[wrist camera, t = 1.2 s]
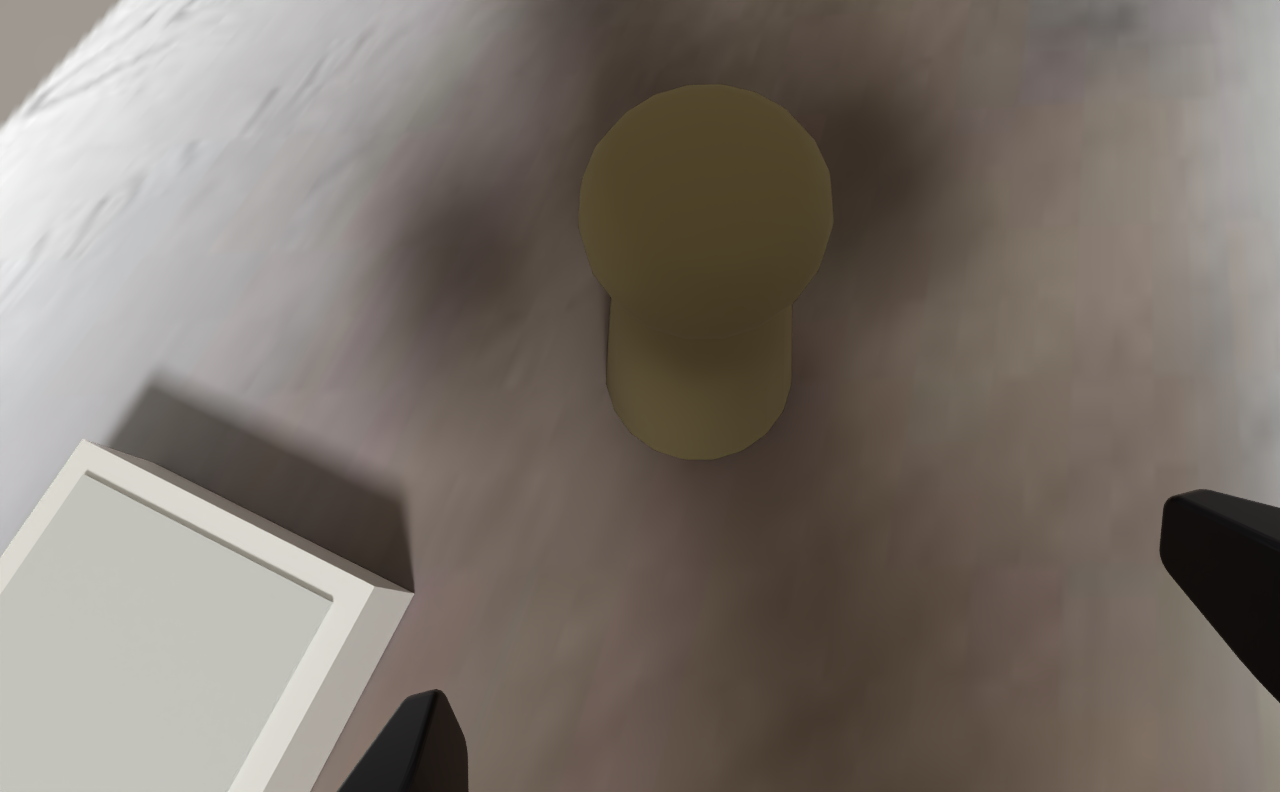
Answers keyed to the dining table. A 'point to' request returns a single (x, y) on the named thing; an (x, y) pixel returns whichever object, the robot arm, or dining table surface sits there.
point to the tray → (175, 639)
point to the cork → (703, 262)
